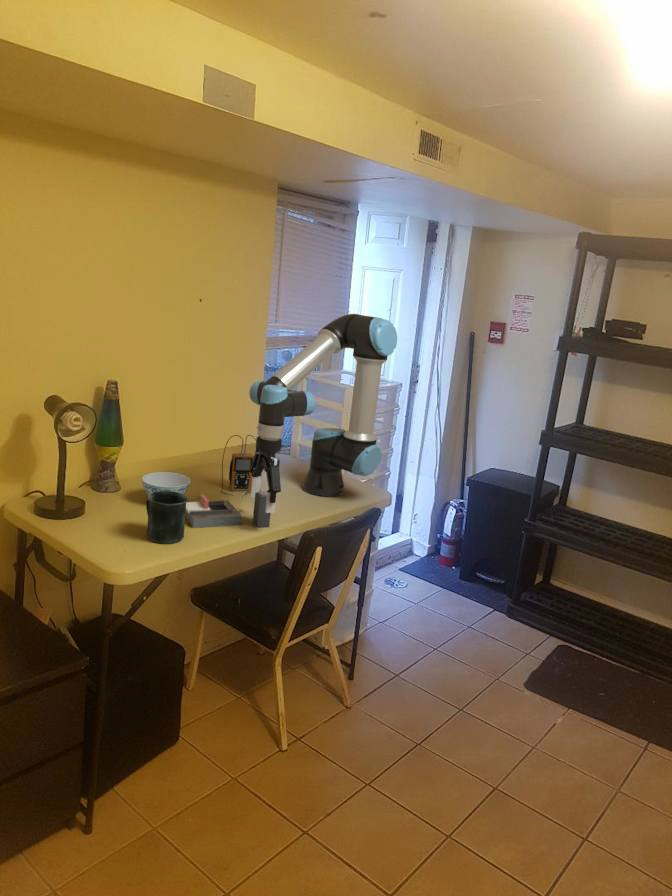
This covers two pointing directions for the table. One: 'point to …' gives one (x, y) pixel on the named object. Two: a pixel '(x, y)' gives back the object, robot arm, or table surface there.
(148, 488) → the chinaware
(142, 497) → the table surface
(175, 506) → the mug
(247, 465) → the multimeter
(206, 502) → the shutter
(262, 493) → the gray rectangular block
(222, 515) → the socket plate
